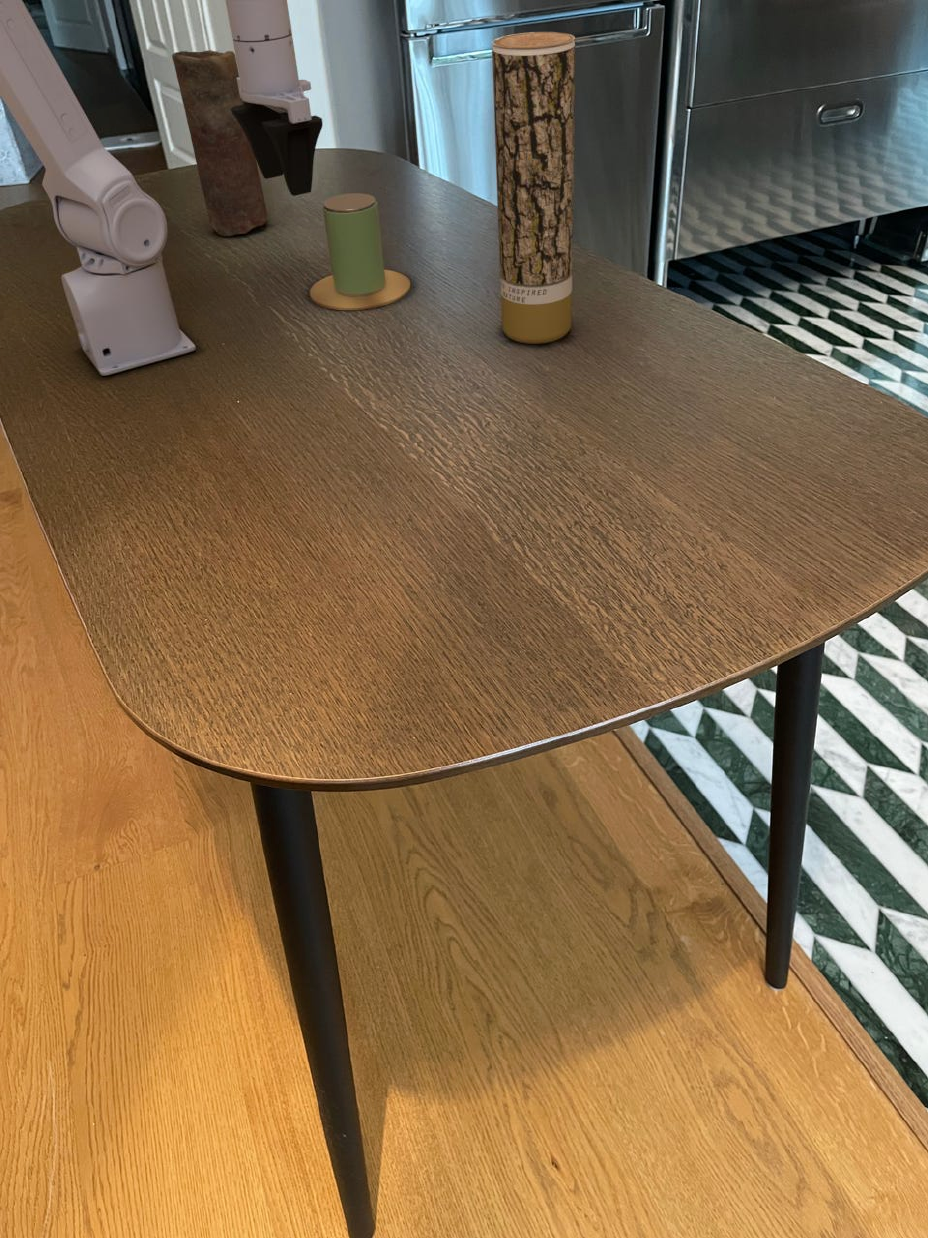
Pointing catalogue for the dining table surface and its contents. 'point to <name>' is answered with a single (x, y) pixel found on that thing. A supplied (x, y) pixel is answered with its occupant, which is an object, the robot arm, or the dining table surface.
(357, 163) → the dining table surface
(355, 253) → the can
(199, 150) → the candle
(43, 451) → the dining table surface
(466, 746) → the dining table surface
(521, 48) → the paper tube
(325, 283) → the coaster
